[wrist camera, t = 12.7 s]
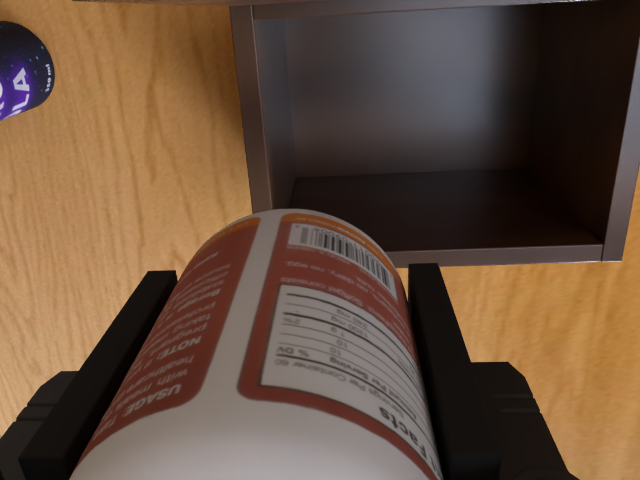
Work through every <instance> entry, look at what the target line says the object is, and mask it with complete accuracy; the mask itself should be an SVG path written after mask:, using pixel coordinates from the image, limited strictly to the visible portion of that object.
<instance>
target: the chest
mask: <svg viewBox="0 0 640 480" xmlns="http://www.w3.org/2000/svg"><path fill="white" fill-rule="evenodd" d="M229 11H230V19H231V28H232V37H233V46H234V54H235V63H236V72H237V81H238V89H239V98H240V107H241V116H242V124H243V133H244V142H245V151H246V159H247V168H248V177H249V186H250V194H251V203H252V212H253V214H255V213H259V212H263V211H268V210H275V209H305V210H313V211H317V212H321V213H325V214H328V215H331V216H334V217H337V218H339V219H341V220H343V221H345V222H347V223H349V224H351V225H353V226H355V227H356V228H358V229H359V230H361V231H362V232H364V233H365V234H366V235H368V236H369V237H370V238H371V239H372V240H373V241H374V242H375V243H376V244H377V245H379V246H380V248H381V249H382V250H383V251H384V252H385V254H386V255H387V256H388V257H389V259H390V260H391V262H392V263H393V265H394V266H395V268H408V266H409V264H413V263H438V265H439V267H451V266H483V265H514V264H546V263H578V262H600V261H601V262H619V261H622V256H623V251H624V245H625V240H626V235H627V229H628V224H629V219H630V213H631V208H632V203H633V197H634V192H635V187H636V181H637V176H638V171H639V165H640V0H327V1H311V2H294V3H278V4H261V5H245V6H229Z"/></svg>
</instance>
